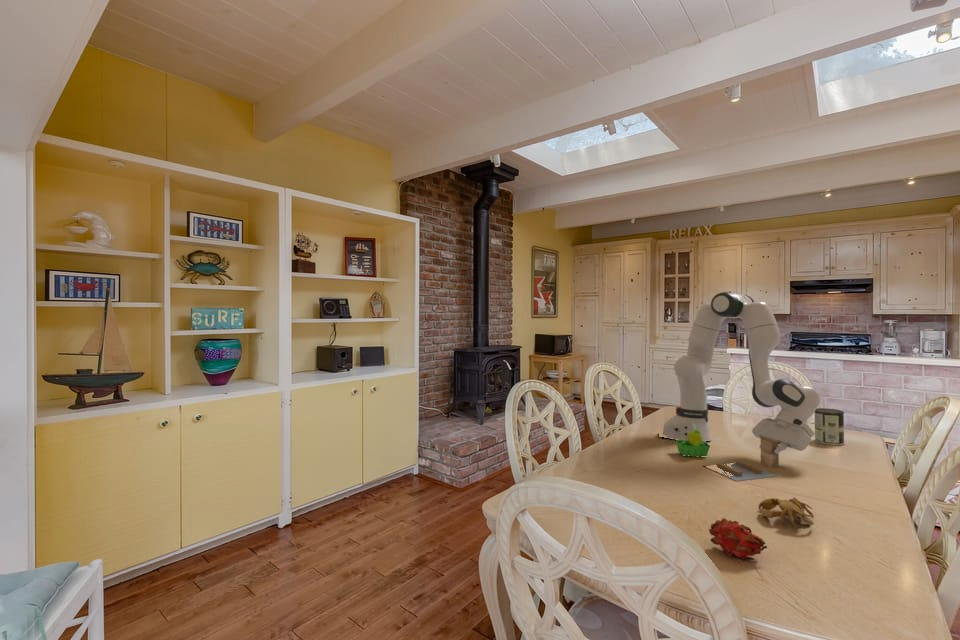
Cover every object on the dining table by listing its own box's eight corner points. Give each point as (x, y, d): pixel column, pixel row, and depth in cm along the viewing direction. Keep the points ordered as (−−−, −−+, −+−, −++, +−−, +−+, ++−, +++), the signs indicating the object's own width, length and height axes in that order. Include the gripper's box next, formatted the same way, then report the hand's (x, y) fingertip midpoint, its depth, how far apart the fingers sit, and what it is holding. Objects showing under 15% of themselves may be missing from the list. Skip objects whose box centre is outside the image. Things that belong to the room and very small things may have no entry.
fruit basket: (703, 452, 179) (702, 425, 179) (712, 459, 170) (712, 431, 170) (674, 452, 180) (674, 425, 180) (682, 459, 171) (682, 430, 171)
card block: (769, 462, 165) (769, 436, 165) (778, 466, 161) (778, 439, 161) (760, 463, 164) (760, 437, 164) (770, 467, 160) (769, 440, 160)
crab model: (760, 504, 130) (759, 486, 130) (813, 515, 122) (813, 496, 122) (755, 524, 117) (755, 504, 117) (814, 537, 110) (814, 516, 110)
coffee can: (831, 438, 195) (831, 407, 195) (850, 445, 185) (850, 412, 185) (808, 439, 196) (808, 408, 196) (826, 445, 185) (826, 413, 185)
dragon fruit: (705, 550, 107) (762, 574, 100) (703, 542, 101) (763, 567, 94) (713, 516, 110) (768, 537, 103) (711, 507, 105) (770, 529, 97)
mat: (741, 461, 167) (741, 457, 167) (778, 476, 151) (778, 471, 151) (701, 465, 163) (701, 461, 163) (736, 481, 147) (736, 476, 147)
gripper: (760, 412, 175) (740, 437, 172) (809, 423, 155) (788, 453, 152) (769, 422, 176) (749, 448, 173) (819, 435, 156) (798, 464, 153)
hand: (768, 450), depth 163 cm, fingers closed on card block, 4 cm apart
